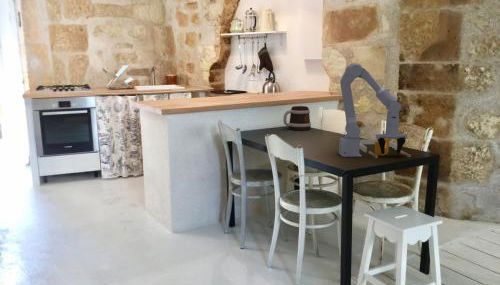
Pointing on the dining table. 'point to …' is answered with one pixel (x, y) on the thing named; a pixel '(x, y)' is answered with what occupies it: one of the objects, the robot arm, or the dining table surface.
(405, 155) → the slot guide
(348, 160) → the dining table surface
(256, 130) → the dining table surface
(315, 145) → the dining table surface
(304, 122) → the mug
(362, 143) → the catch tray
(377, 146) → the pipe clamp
